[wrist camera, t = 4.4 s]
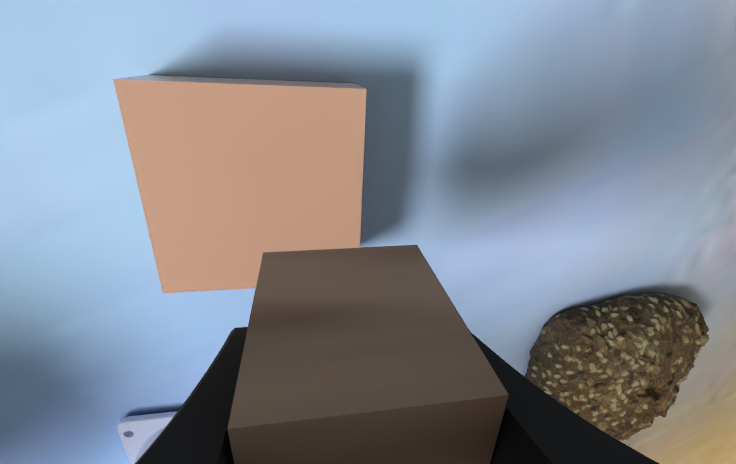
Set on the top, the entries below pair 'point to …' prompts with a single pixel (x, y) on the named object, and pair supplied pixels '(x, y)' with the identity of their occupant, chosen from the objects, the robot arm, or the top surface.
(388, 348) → the walnut block
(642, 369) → the bread roll
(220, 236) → the terracotta tile
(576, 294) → the top surface
